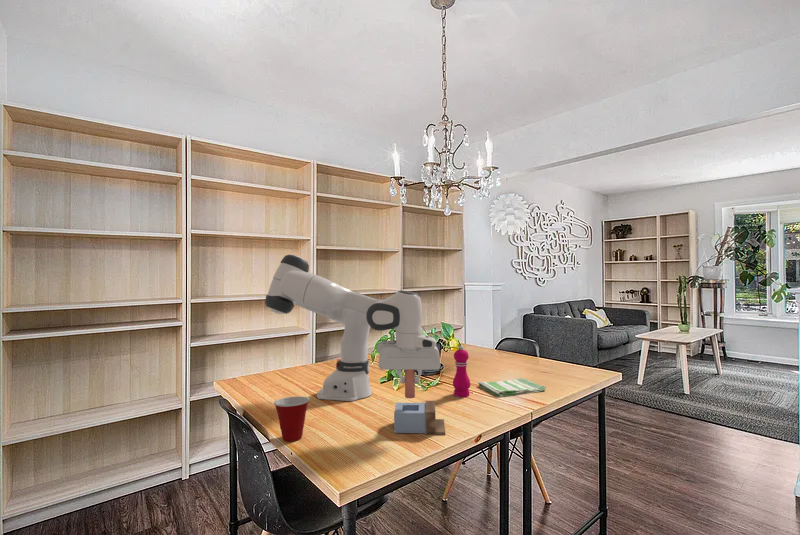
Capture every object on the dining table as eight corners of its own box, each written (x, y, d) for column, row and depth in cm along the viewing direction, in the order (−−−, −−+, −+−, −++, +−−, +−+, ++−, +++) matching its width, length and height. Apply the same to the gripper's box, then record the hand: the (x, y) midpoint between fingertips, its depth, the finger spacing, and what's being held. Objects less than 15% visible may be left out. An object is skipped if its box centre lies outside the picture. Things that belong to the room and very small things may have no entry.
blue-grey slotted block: (394, 432, 131) (394, 413, 131) (396, 421, 141) (396, 402, 141) (426, 433, 131) (425, 413, 131) (426, 421, 141) (425, 402, 141)
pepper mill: (470, 397, 165) (469, 347, 165) (452, 397, 167) (451, 347, 167) (471, 392, 172) (470, 344, 172) (453, 391, 174) (452, 343, 174)
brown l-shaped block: (426, 434, 130) (425, 412, 130) (426, 421, 141) (425, 400, 141) (445, 434, 130) (445, 412, 130) (443, 421, 141) (443, 400, 141)
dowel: (404, 398, 134) (404, 367, 134) (405, 395, 138) (404, 365, 138) (414, 398, 134) (414, 367, 134) (415, 395, 137) (414, 365, 137)
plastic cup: (306, 428, 136) (306, 392, 136) (313, 441, 126) (312, 401, 126) (272, 434, 132) (271, 396, 132) (276, 447, 122) (275, 407, 122)
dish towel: (547, 392, 173) (547, 385, 173) (499, 399, 165) (499, 392, 165) (521, 381, 190) (521, 375, 190) (476, 387, 182) (476, 380, 182)
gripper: (376, 342, 133) (377, 385, 133) (440, 342, 132) (441, 385, 132) (378, 338, 140) (379, 380, 140) (439, 338, 138) (440, 380, 138)
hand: (409, 382), depth 136 cm, fingers closed on dowel, 3 cm apart
